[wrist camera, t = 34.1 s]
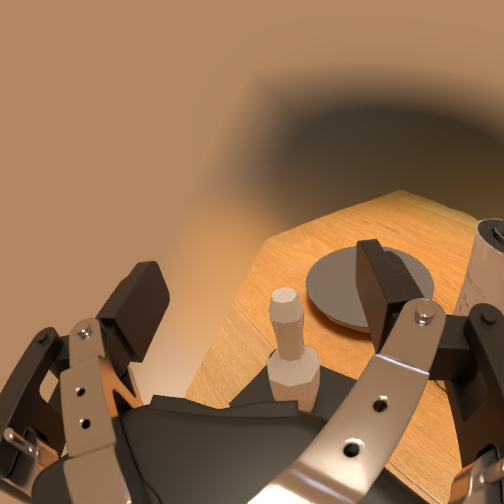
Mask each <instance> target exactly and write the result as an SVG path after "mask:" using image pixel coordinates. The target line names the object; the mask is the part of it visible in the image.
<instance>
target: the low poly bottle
mask: <svg viewBox="0 0 504 504" xmlns="http://www.w3.org/2000/svg"><path fill="white" fill-rule="evenodd" d="M269 315H270V320H271V323H272V326H273V329H274V332H275V335H276V340H277V345H278V348H277V349H276V350H275V352H274V353H273V355H272V356H271V357H270V359H269V360H268V362H267V369H268V375H269V381H270V385H271V389H272V393H273V397H274V399H275V400H276V401H290V400H298V406H299V410H302V411H308V412H311V411H312V409H313V407H314V403H315V399H316V396H317V392H318V388H319V384H320V364H319V361H318V358H317V355H316V352H315V350H314V349H311V348H309V347H307V346H304V340H303V323H304V309H303V307H302V304H301V302H300V299H299V297H298V295H297V293H296V291H295V289H293V288H288V287H283V288H279V289H276V290H275V291H274V292H273V294H272V295H271V301H270V306H269Z"/></svg>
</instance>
